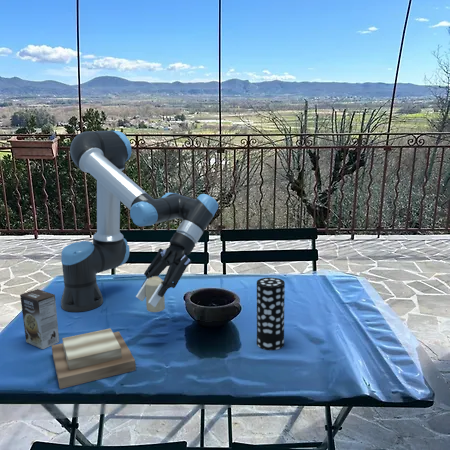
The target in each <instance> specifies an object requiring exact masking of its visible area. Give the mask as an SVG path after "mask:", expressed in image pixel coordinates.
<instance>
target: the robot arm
mask: <svg viewBox="0 0 450 450" xmlns="http://www.w3.org/2000/svg"><path fill="white" fill-rule="evenodd" d="M69 152H70V157H71V160H72V161H73V163H74V165H75V166H76V167H77V168H79V170H81V172H84V173H88V174H90V175H91V176H92V177H93V178H94V179H95V180H96V232H95V233H94V234H93V236H92V241H90V240H83V241H76V242H73V243H70V244H67V245H66V246H64V247H63V249H62V250H61V260H60V262H61V266H62V274H63V277H62V278H63V285H64V287H63V292H62V297H61V300H60V305H61V309H62V310H64V311H66V312H72V313H73V312H74V313H79V312H86V311H90V310H94V309H97V308H99V307H100V306H101V305H102V304H103V303H104V299H103V294H102V292H101V289H100V287H99V286H98V281H97V274H100V273H103V272H105V271H109V270H111V269H117V268H118V267H121V266H122V265H124V264H125V263H126V262H127V261H128V260H129V257H130V245H129V244H128V242H129V241H127V239H126V238H124V234H123V233H121V231H120V229H121V228H120V226H121V223H120V222H121V203H122V204H123V205H124V206H125V207H126V208H127V209H129V210H130V211H129V216H130V218H131V220H132V222H133V224H134V225H136V226H138V227H150V226H153V225H156V224H160V223H163V222H168V221H171V220H174V219H175V220H176V219H180V220H182V221H181V223H180V224H179V226H178V227H177V229H176V232H174V233H173V235H172V237H171V238H170V240H169V246H168V247H167V248H165V249H162V248H158V251H157V253H156V255H155V257H154V258H153V259H152V261H151V262H150V264H149V265H148V267H147V268H146V270H145V271H144V273H143V275H144V276H145V277H146V278H145V280H144V282H143V283H142V285H141V288H140V289H139V290H138V292H137V294H136V295H135V298H137V299H138V300H139V301H140V302H144V300H146V286H145V282H146V281H147V280H148V279H149V278H151V277H153V276H158V277H159V276H160V275H161V273H163V272H164V270H166V268H167V267H168V269H167V271H166V273H165V277H164V278H163V282H161V283H162V284H163V285H162V284H159V286H158V287H157V289H156V291H155V292H154V294H153V295H152V297H151V298H150V300H149V302H148V303H150V304H151V305H152V306H154V307H156V305H157V304H158V302H159V300H160V299H161V297H163V296H164V297H165V294H166V292H167V291H168V290H169V289H170V288H172V289H175V288H176V286H177V284H178V283H179V282H180V280H181V278H182V276H183V275H184V273H185V271H186V270H187V267H189V265H190V264H191V263H192V260H191V259H190V258H189V257H188V255H190V254H191V253H192V252H193V250H194V249H195V247H196V244H197V243H198V242H199V240H200V238H201V237H202V235H203V234H204V233H205V230H206V228H207V227H208V226H209V224H210V223H211V221H212V220H213V218H214V217H215V214H216V212H217V211H218V209H219V203H218V202H217V200H216V199H215V198H214V197H212V196H211V195H209V194H205V193H201V194H199V195H198V196H197V197H196V199H195V198H191V197H188V196H185V195H182V194H179V193H175V192H165V194H164V195H162V196H161V197H160V198H156V199H155V198H153V197H152V196H151V195H149V193H147V191H145V190H144V189H143V188H141V186H139V185H138V184H137V183H136V182H134V180H132V179H131V178H130V177H129V176H127V174H125V173H124V172H123V170H125V168H126V166H125V163H126V162H127V161H128V160H130V158H131V156H132V145H131V142H130V139H129V138H128V137H127V135H126V134H124V133H123V132H121V131H118V130H110V129H108V130H95V131H89V130H88V131H83V132H80V133H79V134H77V135H76V136H75V137H74V138H73V139H72V141H71V143H70V147H69Z"/></svg>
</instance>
